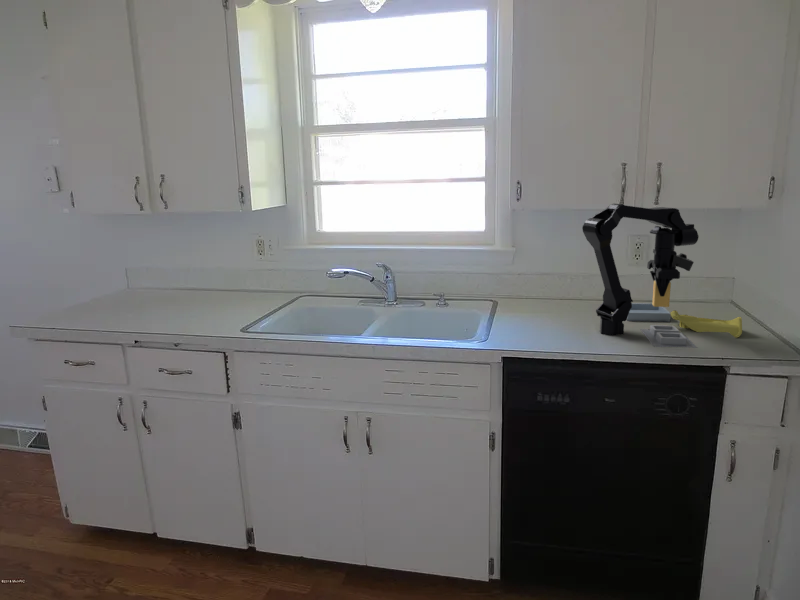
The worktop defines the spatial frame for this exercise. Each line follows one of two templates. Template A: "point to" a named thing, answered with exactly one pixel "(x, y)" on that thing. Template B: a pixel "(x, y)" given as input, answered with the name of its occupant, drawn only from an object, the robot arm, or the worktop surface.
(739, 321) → the plastic component
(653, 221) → the robot arm
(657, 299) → the block
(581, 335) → the worktop surface
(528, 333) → the worktop surface
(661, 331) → the board
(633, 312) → the parts tray
